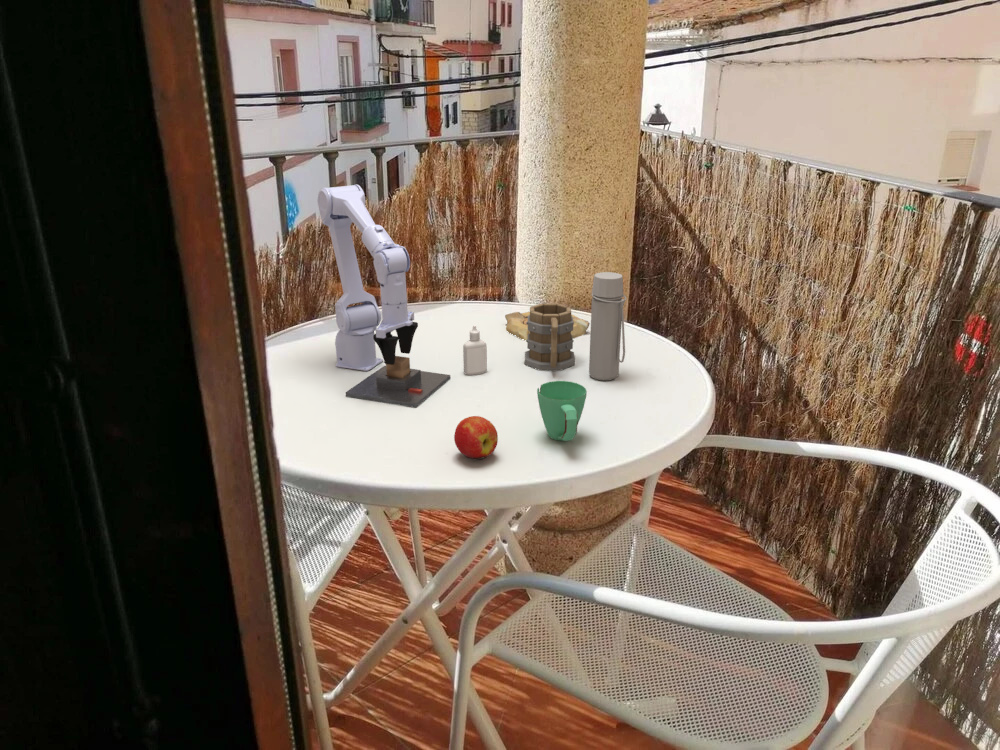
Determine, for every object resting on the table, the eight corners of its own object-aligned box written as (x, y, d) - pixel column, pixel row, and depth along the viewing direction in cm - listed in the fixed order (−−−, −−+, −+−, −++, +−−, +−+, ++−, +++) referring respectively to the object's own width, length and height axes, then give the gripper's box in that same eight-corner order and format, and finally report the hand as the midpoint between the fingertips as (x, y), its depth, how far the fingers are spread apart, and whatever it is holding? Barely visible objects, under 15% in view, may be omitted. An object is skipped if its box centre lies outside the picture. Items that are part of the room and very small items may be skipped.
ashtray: (592, 344, 207) (592, 326, 205) (504, 344, 207) (504, 326, 206) (584, 317, 229) (584, 301, 227) (505, 317, 229) (505, 301, 228)
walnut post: (387, 384, 177) (385, 361, 175) (395, 378, 181) (394, 355, 179) (402, 386, 176) (401, 363, 174) (410, 380, 179) (409, 357, 177)
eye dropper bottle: (485, 376, 185) (484, 329, 181) (462, 375, 186) (461, 328, 181) (487, 369, 189) (487, 323, 185) (465, 368, 190) (464, 322, 185)
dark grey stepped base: (345, 396, 174) (344, 382, 173) (384, 369, 190) (383, 356, 188) (416, 407, 168) (415, 393, 167) (450, 378, 183) (449, 365, 182)
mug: (532, 426, 159) (532, 382, 155) (578, 423, 160) (579, 379, 156) (546, 459, 145) (547, 411, 141) (596, 455, 147) (598, 408, 143)
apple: (470, 470, 142) (469, 431, 139) (446, 453, 148) (445, 416, 145) (505, 458, 146) (504, 420, 143) (480, 442, 152) (479, 405, 149)
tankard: (524, 352, 200) (524, 297, 194) (572, 353, 200) (574, 297, 194) (524, 381, 181) (524, 321, 176) (577, 382, 181) (579, 322, 175)
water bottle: (581, 377, 184) (585, 276, 175) (600, 368, 189) (605, 269, 180) (613, 386, 178) (618, 282, 169) (631, 377, 183) (638, 276, 174)
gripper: (394, 312, 163) (398, 371, 168) (424, 294, 176) (427, 350, 181) (365, 309, 166) (370, 367, 171) (397, 292, 178) (401, 346, 183)
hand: (397, 358), depth 176 cm, fingers open, 7 cm apart
